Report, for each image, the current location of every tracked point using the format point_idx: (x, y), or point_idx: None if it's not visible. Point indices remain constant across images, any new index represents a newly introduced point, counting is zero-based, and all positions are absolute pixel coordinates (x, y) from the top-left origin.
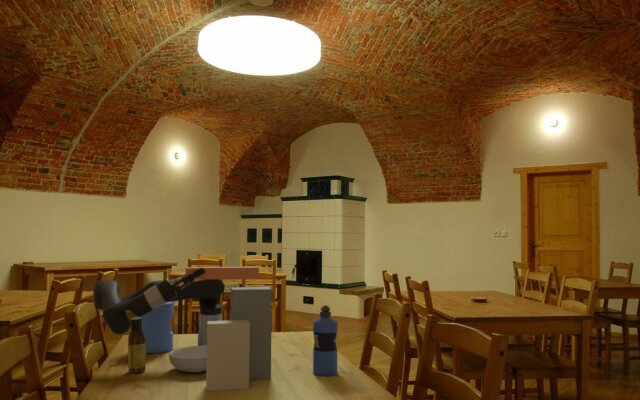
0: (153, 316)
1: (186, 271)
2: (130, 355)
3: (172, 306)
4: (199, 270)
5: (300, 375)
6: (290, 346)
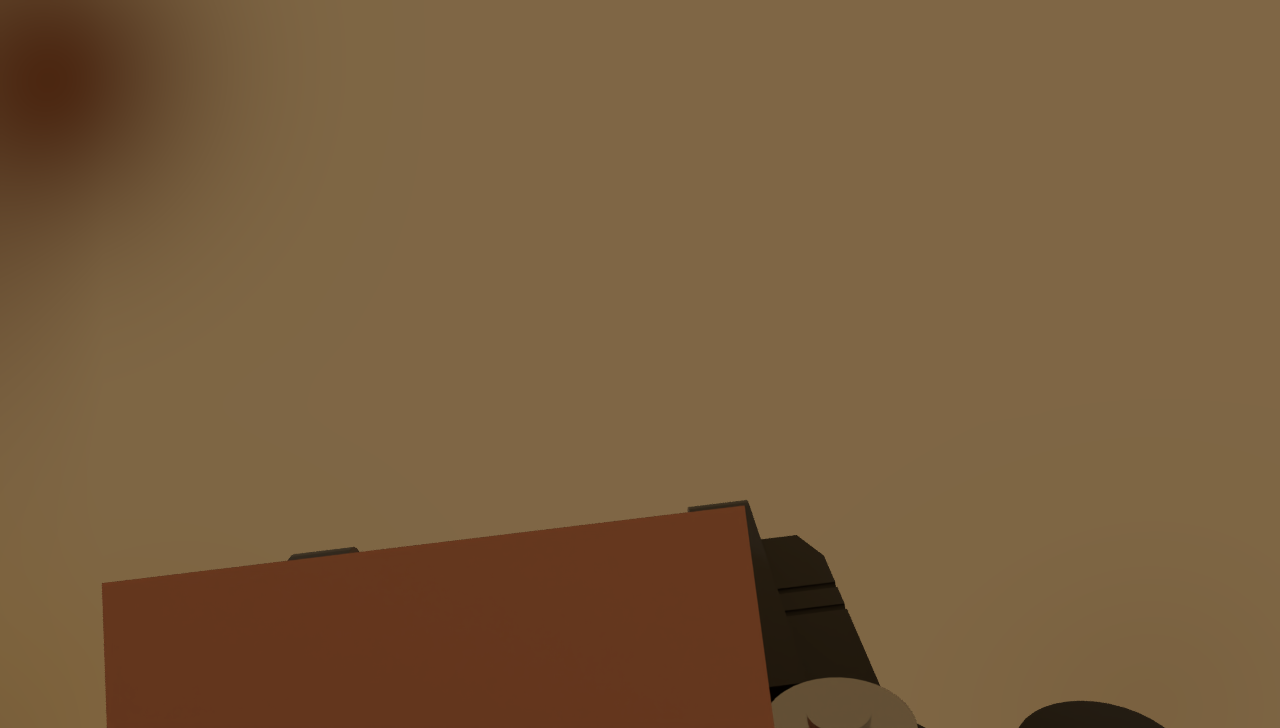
0: None
1: (762, 691)
2: None
3: None
4: (832, 578)
5: None
6: None
